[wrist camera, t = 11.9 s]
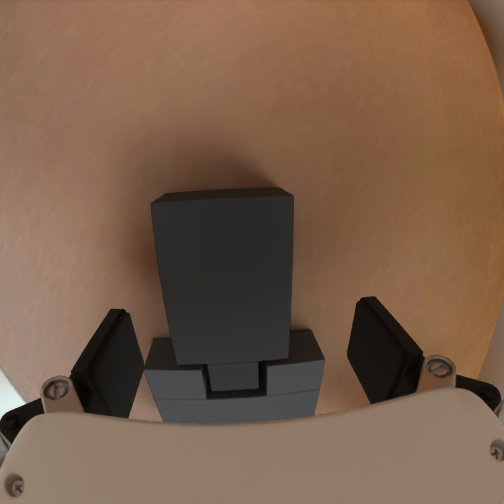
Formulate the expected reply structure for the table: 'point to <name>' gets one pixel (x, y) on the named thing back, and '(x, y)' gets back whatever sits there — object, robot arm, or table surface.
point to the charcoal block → (237, 401)
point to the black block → (226, 278)
